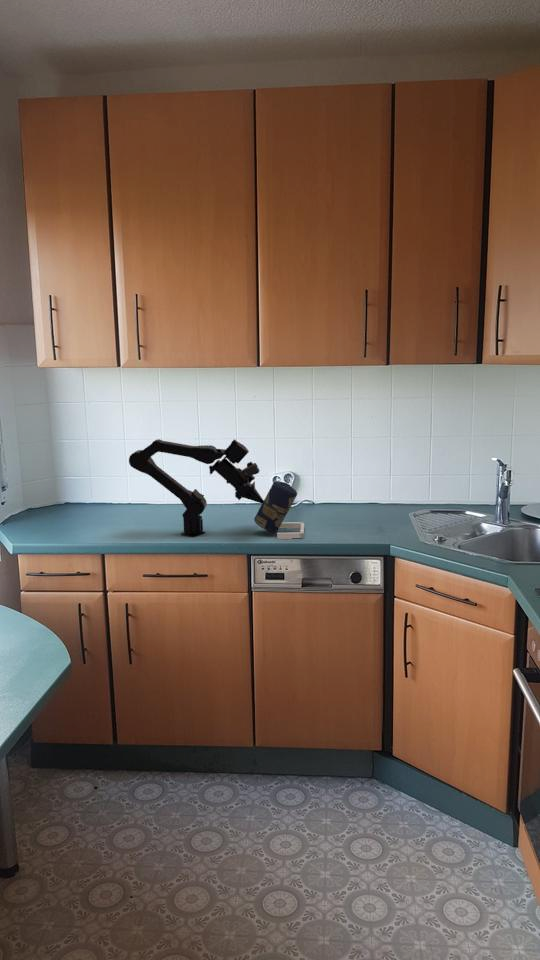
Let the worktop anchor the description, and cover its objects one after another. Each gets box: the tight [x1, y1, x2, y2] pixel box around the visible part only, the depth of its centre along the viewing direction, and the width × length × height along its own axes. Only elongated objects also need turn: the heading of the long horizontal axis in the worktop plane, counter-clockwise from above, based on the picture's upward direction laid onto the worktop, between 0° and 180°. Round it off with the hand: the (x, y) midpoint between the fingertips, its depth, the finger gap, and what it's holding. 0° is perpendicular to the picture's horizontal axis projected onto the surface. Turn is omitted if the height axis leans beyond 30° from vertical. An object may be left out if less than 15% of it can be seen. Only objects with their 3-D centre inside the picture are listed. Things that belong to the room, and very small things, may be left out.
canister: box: [254, 480, 298, 533], centre depth 264 cm, size 10×10×18 cm
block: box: [276, 521, 305, 540], centre depth 265 cm, size 9×15×2 cm, turn 177°
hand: (262, 502), depth 264 cm, fingers closed, pressing on canister
